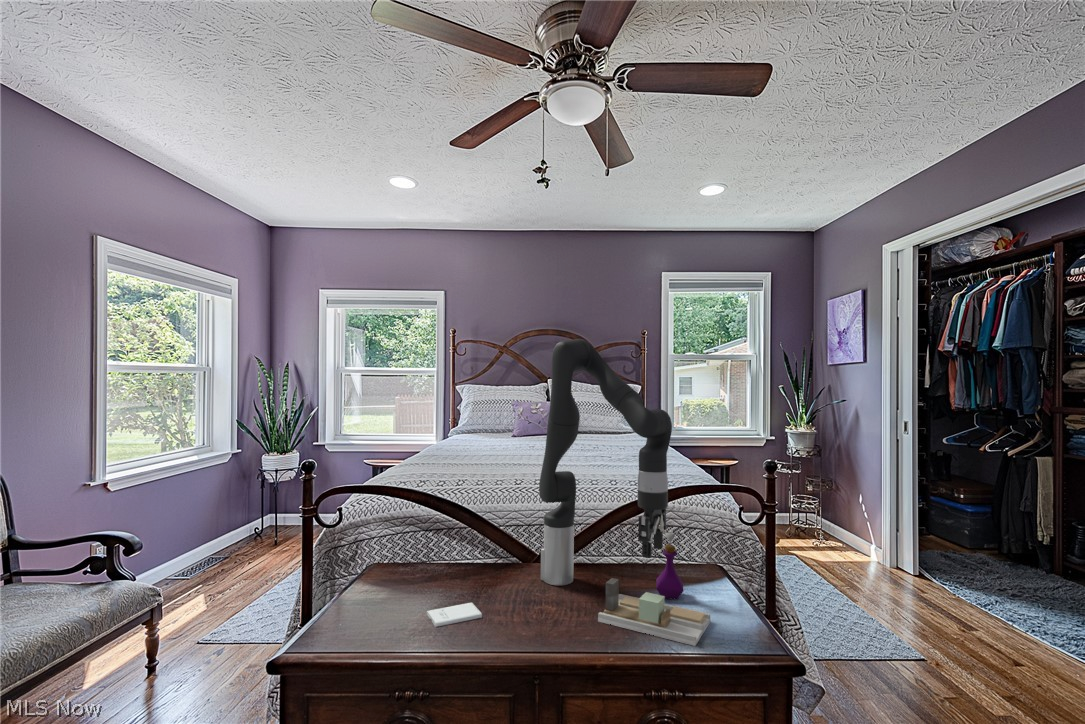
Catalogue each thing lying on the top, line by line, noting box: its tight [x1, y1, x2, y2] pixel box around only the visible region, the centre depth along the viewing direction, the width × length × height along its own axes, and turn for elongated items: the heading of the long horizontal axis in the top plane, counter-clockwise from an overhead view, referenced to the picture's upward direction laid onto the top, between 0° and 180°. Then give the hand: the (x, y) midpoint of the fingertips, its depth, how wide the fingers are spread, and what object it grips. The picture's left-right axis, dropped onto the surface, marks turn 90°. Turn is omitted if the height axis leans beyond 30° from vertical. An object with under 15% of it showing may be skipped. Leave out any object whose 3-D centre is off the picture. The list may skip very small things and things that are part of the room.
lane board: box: [597, 593, 711, 647], centre depth 146 cm, size 25×15×2 cm, turn 60°
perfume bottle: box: [655, 532, 684, 600], centre depth 163 cm, size 8×8×18 cm
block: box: [638, 591, 666, 623], centre depth 143 cm, size 5×5×5 cm
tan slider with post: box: [603, 577, 670, 628], centre depth 145 cm, size 16×5×8 cm, turn 60°
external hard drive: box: [426, 602, 483, 628], centre depth 148 cm, size 2×8×12 cm
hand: (652, 552), depth 143 cm, fingers open, 8 cm apart
